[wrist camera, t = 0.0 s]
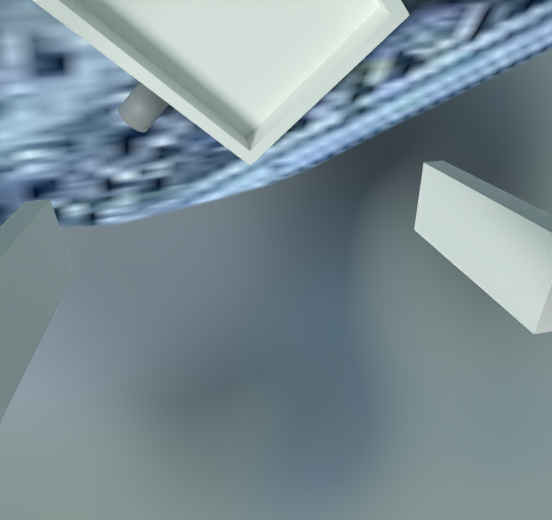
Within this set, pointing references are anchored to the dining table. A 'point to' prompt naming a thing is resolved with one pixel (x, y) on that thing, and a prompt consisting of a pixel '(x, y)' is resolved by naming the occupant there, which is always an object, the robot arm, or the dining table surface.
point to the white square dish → (231, 57)
